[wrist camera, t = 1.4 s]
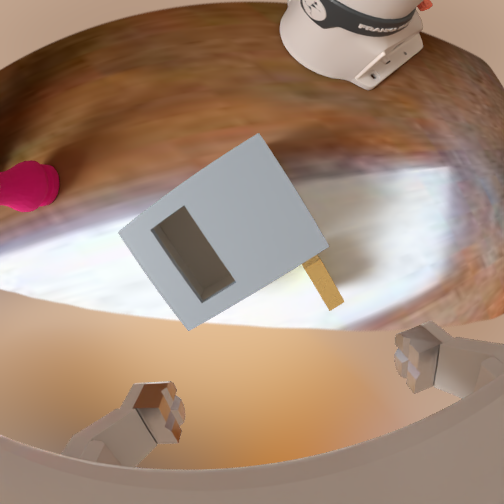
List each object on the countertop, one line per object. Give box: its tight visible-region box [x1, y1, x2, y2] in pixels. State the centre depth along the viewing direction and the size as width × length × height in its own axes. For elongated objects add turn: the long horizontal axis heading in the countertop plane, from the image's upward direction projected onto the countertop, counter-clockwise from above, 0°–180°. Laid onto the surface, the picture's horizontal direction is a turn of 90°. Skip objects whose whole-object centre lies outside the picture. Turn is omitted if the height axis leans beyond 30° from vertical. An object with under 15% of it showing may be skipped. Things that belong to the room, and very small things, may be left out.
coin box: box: [118, 133, 329, 331], centre depth 30 cm, size 16×12×10 cm
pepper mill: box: [0, 161, 59, 212], centre depth 24 cm, size 7×7×20 cm
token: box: [302, 255, 344, 311], centre depth 34 cm, size 2×6×6 cm, turn 33°
